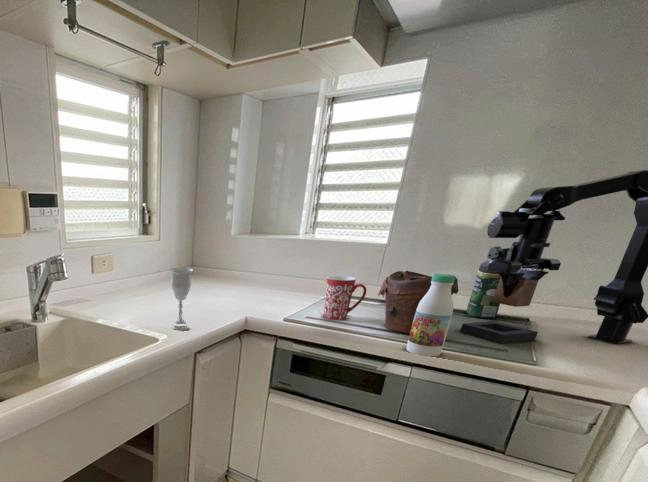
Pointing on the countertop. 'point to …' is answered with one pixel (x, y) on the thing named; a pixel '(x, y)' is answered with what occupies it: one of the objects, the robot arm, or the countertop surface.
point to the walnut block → (516, 293)
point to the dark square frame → (498, 331)
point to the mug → (340, 296)
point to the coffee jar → (484, 293)
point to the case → (405, 297)
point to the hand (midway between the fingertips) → (512, 296)
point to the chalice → (181, 290)
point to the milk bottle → (432, 318)
